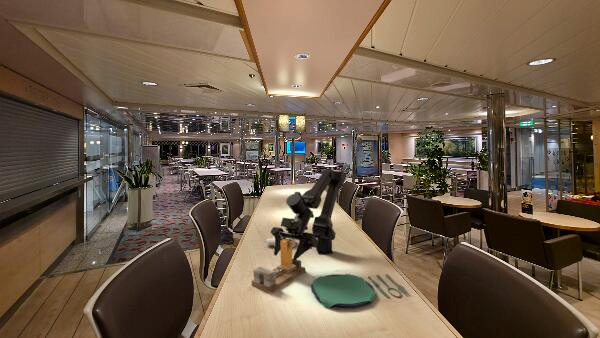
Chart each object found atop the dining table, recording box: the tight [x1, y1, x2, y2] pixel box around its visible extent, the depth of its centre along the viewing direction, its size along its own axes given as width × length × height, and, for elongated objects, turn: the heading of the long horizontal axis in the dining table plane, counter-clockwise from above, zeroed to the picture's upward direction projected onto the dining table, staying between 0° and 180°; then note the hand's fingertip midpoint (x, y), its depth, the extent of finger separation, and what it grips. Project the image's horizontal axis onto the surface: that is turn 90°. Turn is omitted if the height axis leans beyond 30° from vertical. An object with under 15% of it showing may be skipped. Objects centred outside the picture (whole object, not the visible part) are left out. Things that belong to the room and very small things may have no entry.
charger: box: [262, 235, 296, 248], centre depth 133 cm, size 5×9×15 cm
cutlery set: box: [310, 273, 412, 309], centre depth 87 cm, size 20×30×2 cm, turn 100°
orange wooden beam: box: [275, 238, 296, 276], centre depth 97 cm, size 11×5×11 cm, turn 145°
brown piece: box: [251, 258, 306, 293], centre depth 97 cm, size 19×9×6 cm, turn 146°
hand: (284, 257), depth 99 cm, fingers open, 8 cm apart
